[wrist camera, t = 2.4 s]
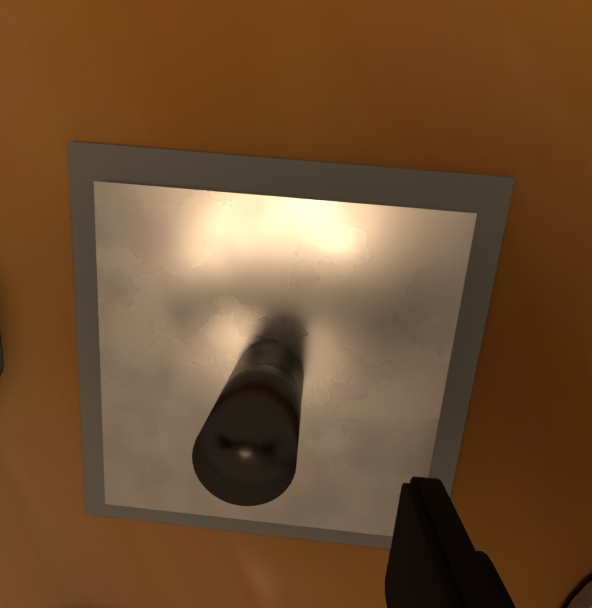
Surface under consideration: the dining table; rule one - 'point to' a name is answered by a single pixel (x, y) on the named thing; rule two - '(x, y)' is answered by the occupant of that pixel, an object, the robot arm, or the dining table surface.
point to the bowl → (0, 364)
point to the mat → (293, 184)
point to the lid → (272, 352)
